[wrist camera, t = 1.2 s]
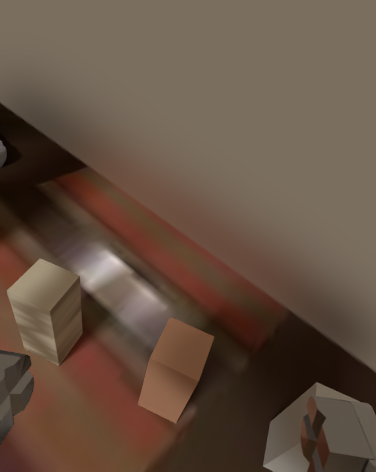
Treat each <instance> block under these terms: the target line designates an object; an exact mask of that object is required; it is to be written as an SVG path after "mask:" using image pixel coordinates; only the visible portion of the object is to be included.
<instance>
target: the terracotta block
mask: <svg viewBox="0 0 376 472" xmlns="http://www.w3.org/2000/svg"><path fill="white" fill-rule="evenodd" d="M213 340H214V336H212V335H210V334H207V333H205V332H203V331H201V330H199V329H196V328H194V327H192V326H190V325H187V324H185V323H183V322H181V321H179V320H176V319H174V318H172V317H170V319H169V321H168V323H167V325H166V327H165V329H164V331H163V333H162V335H161V337H160V339H159V341H158V343H157V345H156V347H155V349H154V351H153V353H152V355H151V357H150V359H149V363H148V367H147V371H146V375H145V379H144V383H143V387H142V391H141V394H140V398H139V402H138V405H140V406H142V407H144V408H146V409H148V410H150V411H152V412H154V413H156V414H158V415H160V416H162V417H164V418H166V419H168V420H170V421H172V422H174V423H176V422H177V420H178V418H179V417H180V415H181V413H182V411H183V409H184V408H185V406H186V404H187V402H188V400H189V398H190V397H191V395H192V393H193V391H194V389H195V387H196V386H197V384H198V382H199V379H200V376H201V374H202V371H203V368H204V365H205V362H206V360H207V357H208V354H209V351H210V348H211V345H212V343H213Z"/></svg>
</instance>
